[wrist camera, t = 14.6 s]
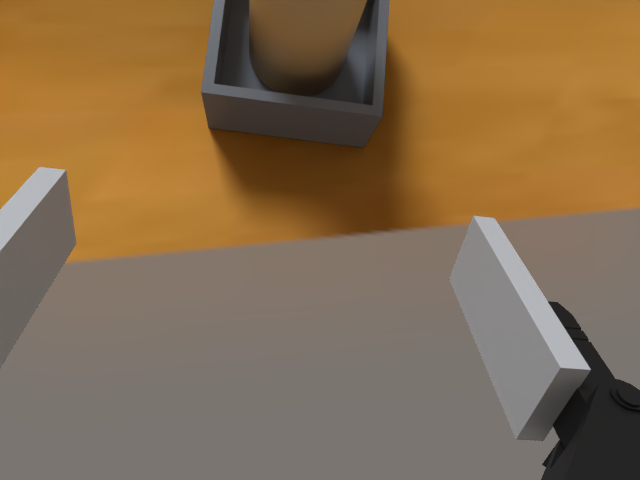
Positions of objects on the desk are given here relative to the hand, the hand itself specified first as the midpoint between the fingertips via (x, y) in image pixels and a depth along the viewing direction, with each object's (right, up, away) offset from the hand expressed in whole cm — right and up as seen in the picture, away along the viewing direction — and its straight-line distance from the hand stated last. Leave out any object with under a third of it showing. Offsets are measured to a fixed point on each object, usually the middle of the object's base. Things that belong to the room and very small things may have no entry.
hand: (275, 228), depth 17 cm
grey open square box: (0, +9, +11) cm, 14 cm away
